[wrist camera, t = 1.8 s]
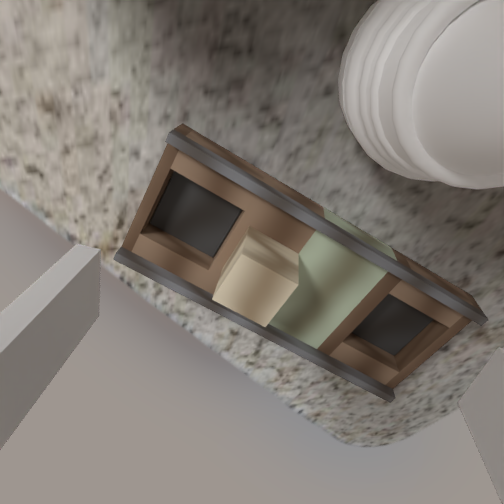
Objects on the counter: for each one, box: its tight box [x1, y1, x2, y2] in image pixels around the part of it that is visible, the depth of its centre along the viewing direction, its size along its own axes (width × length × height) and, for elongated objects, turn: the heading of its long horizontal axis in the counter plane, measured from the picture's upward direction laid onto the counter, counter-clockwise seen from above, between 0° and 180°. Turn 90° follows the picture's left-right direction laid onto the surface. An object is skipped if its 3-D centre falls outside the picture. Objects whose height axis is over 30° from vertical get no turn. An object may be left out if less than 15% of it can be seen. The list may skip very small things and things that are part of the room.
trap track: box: [114, 124, 488, 402], centre depth 35 cm, size 31×13×4 cm, turn 60°
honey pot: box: [338, 0, 504, 190], centre depth 20 cm, size 13×13×18 cm
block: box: [212, 226, 299, 327], centre depth 32 cm, size 5×5×5 cm
